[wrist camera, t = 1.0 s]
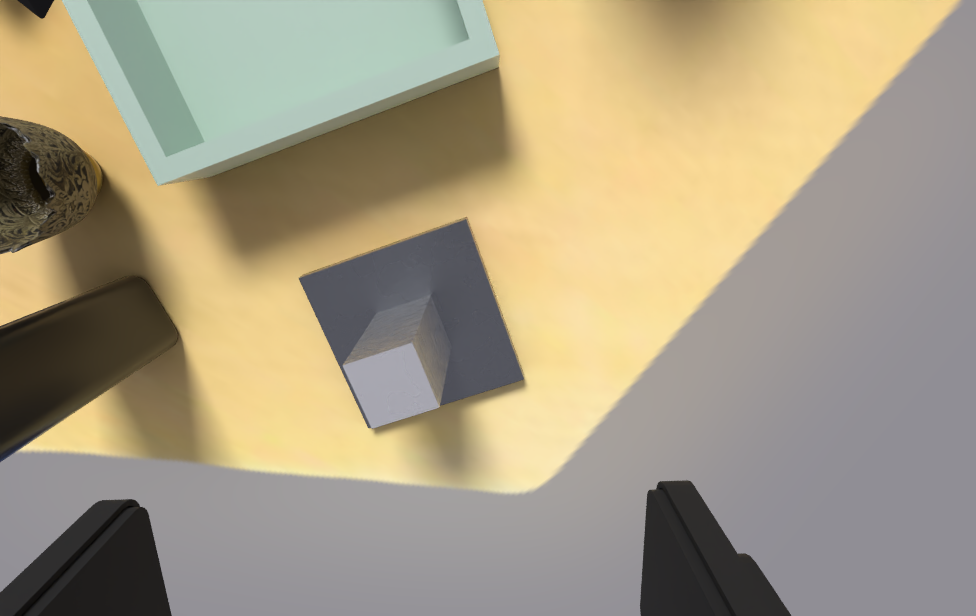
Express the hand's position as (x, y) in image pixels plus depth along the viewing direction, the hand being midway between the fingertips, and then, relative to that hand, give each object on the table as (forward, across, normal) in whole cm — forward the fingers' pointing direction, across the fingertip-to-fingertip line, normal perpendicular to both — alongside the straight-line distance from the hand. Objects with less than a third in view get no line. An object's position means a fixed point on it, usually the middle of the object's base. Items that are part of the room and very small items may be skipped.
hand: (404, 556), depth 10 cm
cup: (+30, +24, -6) cm, 39 cm away
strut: (+28, +3, +5) cm, 29 cm away
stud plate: (+29, +3, +5) cm, 30 cm away
